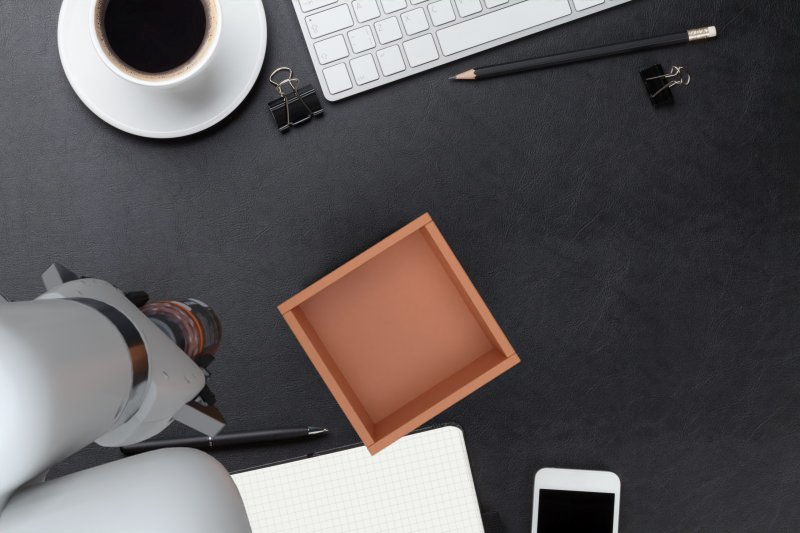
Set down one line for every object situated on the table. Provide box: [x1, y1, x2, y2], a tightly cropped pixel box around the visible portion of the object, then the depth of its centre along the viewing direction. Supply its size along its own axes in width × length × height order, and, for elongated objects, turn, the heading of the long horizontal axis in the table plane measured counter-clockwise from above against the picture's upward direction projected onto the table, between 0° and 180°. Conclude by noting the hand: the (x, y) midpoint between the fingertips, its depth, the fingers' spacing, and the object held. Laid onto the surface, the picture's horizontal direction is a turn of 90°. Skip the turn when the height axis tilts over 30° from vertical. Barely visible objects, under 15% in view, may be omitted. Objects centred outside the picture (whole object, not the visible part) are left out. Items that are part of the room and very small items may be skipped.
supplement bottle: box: [138, 297, 223, 361], centre depth 58 cm, size 6×6×11 cm
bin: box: [276, 211, 522, 457], centre depth 56 cm, size 12×12×7 cm
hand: (165, 339), depth 57 cm, fingers closed on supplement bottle, 6 cm apart
